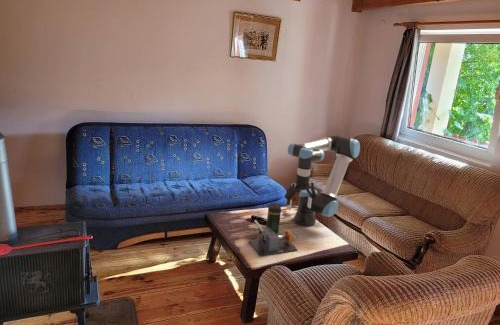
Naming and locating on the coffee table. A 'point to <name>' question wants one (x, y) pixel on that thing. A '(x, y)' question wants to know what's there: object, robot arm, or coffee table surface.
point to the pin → (286, 236)
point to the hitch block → (271, 243)
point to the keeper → (259, 227)
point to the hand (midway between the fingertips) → (299, 208)
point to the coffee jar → (274, 217)
